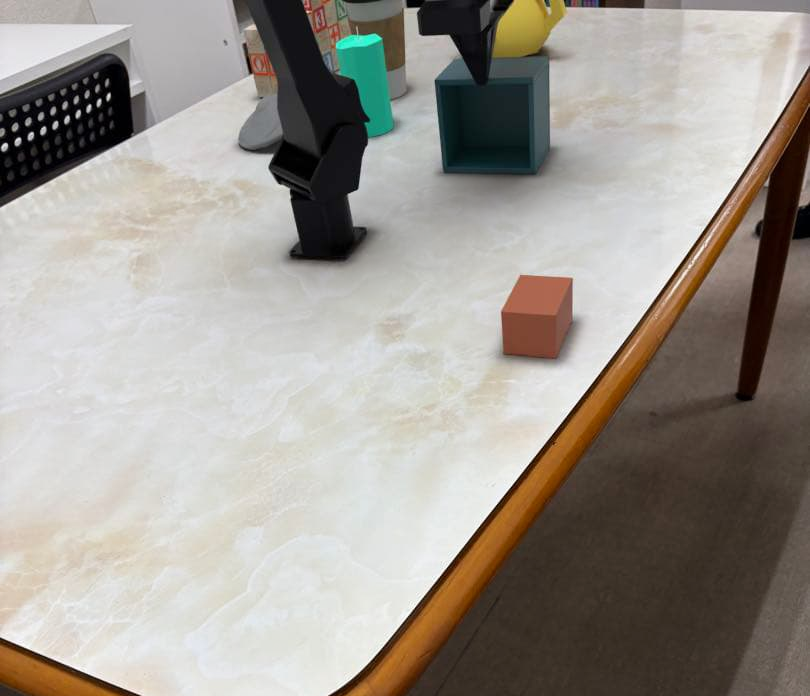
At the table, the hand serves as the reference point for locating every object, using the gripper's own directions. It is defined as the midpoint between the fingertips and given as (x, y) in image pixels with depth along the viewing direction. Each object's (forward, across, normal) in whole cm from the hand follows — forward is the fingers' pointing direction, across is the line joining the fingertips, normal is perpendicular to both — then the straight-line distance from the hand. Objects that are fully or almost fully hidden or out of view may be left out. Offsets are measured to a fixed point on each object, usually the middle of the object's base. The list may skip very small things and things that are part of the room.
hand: (482, 84), depth 91 cm
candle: (+10, +14, +20) cm, 26 cm away
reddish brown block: (+10, -32, -14) cm, 36 cm away
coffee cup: (+10, +27, +23) cm, 37 cm away
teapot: (+10, +41, +9) cm, 43 cm away
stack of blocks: (+10, +36, +39) cm, 54 cm away
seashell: (+10, +11, +33) cm, 36 cm away
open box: (+10, +4, 0) cm, 10 cm away
